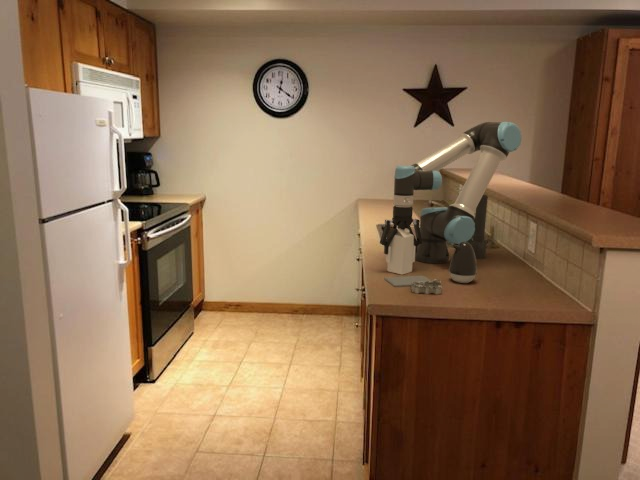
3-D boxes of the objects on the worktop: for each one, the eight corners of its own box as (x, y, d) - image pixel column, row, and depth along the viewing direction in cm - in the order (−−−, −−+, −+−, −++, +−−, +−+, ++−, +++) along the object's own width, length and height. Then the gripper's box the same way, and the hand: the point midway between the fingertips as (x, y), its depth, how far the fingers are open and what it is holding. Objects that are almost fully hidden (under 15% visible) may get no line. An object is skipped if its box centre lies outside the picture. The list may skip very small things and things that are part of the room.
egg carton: (440, 289, 191) (441, 278, 190) (442, 296, 183) (442, 284, 183) (410, 287, 192) (411, 276, 192) (410, 293, 185) (411, 282, 184)
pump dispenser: (442, 279, 204) (444, 240, 200) (464, 276, 208) (467, 238, 205) (458, 286, 194) (462, 245, 191) (481, 283, 198) (485, 243, 195)
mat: (423, 277, 206) (423, 275, 206) (435, 284, 196) (435, 283, 196) (384, 279, 202) (384, 277, 202) (394, 287, 192) (394, 285, 192)
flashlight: (481, 255, 245) (466, 255, 244) (486, 194, 239) (471, 194, 238) (488, 258, 238) (472, 258, 237) (493, 196, 232) (478, 196, 231)
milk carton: (387, 271, 213) (389, 224, 209) (397, 268, 218) (399, 222, 214) (402, 275, 208) (404, 227, 204) (412, 271, 213) (414, 225, 209)
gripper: (379, 207, 201) (376, 265, 206) (433, 206, 207) (430, 262, 211) (372, 204, 208) (370, 260, 213) (425, 204, 214) (422, 258, 218)
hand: (400, 261), depth 212 cm, fingers closed on milk carton, 10 cm apart
